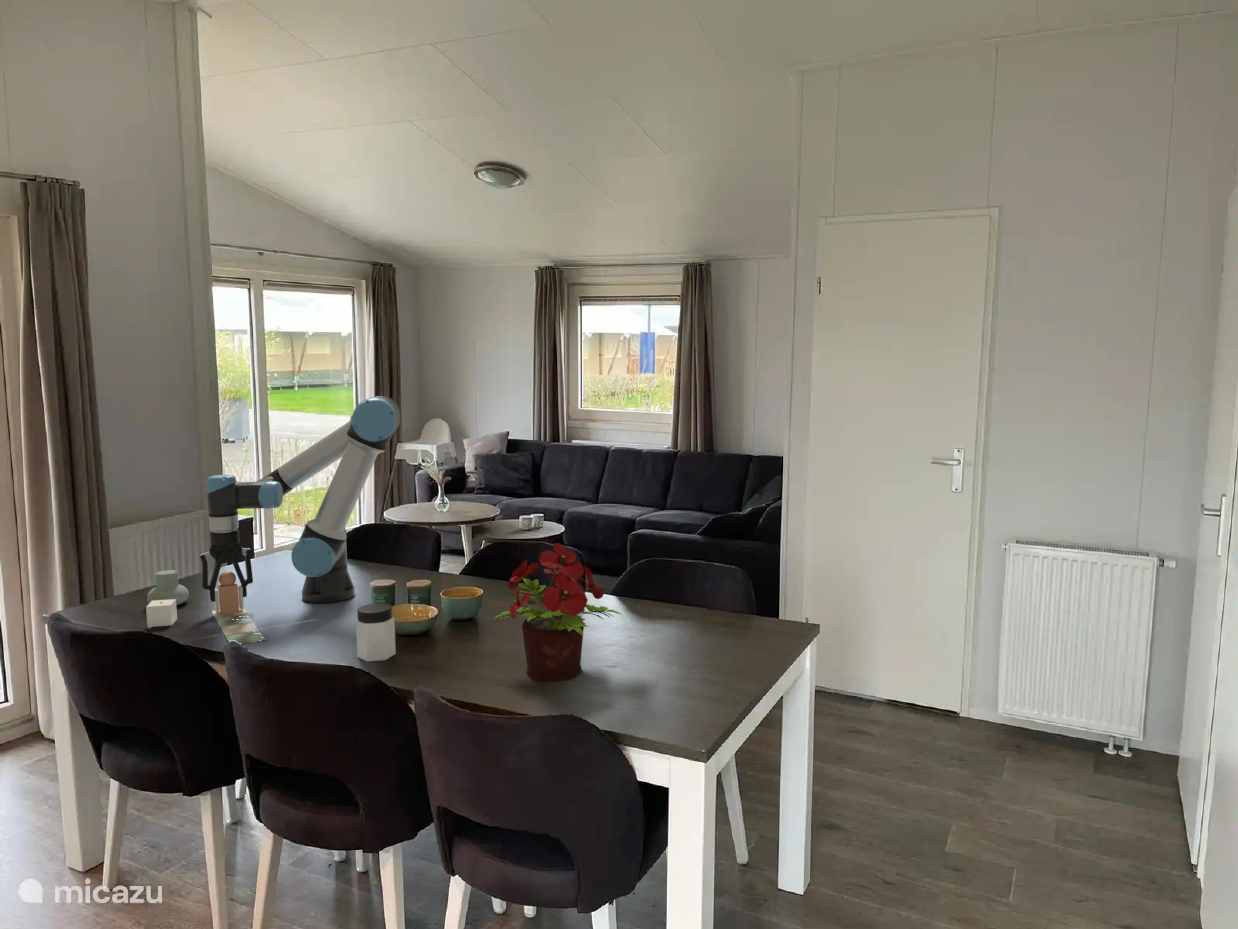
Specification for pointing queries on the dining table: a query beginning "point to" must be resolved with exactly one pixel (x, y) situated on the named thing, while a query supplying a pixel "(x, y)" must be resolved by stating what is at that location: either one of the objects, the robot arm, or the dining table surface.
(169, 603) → the die
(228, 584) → the orange-brown peg figure
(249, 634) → the track
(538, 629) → the potted plant
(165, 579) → the air freshener
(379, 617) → the jar
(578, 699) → the dining table surface
